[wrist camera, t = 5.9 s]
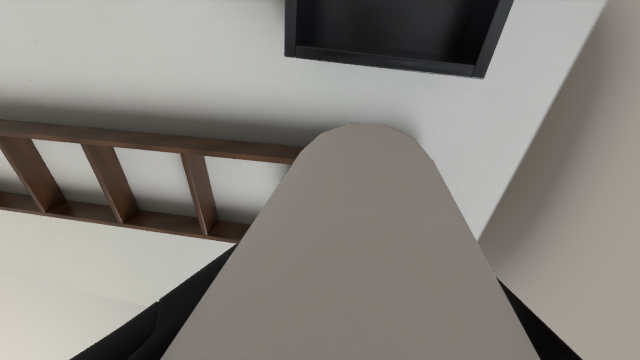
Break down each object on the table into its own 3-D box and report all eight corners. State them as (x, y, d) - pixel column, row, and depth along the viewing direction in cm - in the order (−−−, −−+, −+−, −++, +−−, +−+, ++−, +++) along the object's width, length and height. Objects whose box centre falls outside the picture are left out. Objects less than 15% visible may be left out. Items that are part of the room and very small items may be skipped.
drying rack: (422, 157, 20) (427, 171, 18) (400, 248, 25) (402, 267, 23) (-131, 108, 27) (-168, 114, 25) (-64, 186, 32) (-91, 196, 30)
